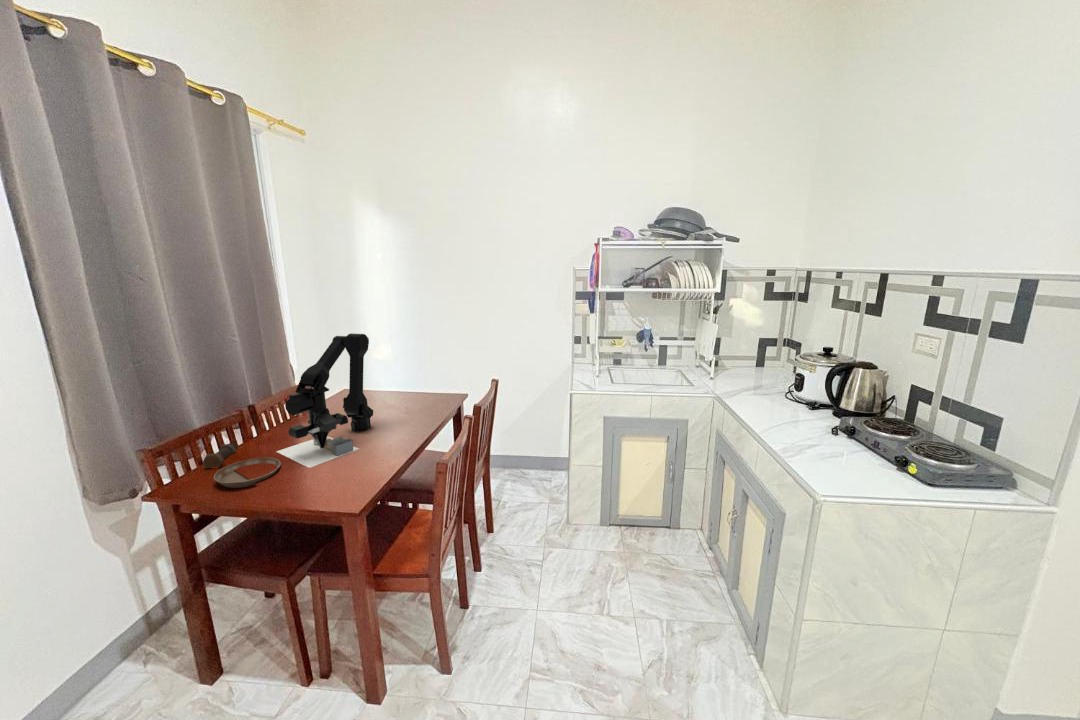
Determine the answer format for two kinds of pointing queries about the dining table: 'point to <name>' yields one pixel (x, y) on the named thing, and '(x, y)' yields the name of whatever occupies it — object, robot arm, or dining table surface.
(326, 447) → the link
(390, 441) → the dining table surface
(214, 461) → the bolt
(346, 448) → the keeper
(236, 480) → the plant saucer
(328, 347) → the robot arm
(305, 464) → the base plate
